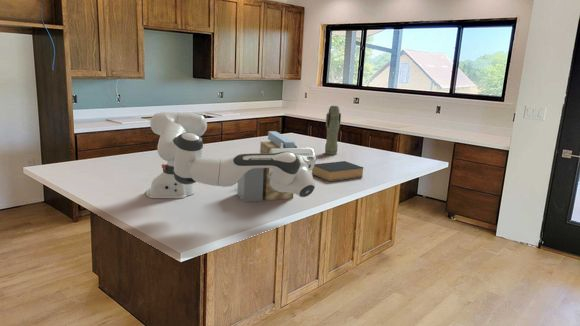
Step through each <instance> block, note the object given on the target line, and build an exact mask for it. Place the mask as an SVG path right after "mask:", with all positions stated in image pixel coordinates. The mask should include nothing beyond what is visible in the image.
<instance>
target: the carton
mask: <svg viewBox="0 0 580 326" xmlns="http://www.w3.org/2000/svg"><path fill="white" fill-rule="evenodd" d="M259 144H260V147H259V148H260V149H259V151H260V152H259V153H269V152H270V150H271V149H279V148H280V147H278V146H277V145H276V144H274V143H273V142H271V141H270V140H269V141H260V143H259ZM272 171H273V168H264V171H263V197H262V199H264V200H265V201H270V200H284V199H285V200H286V199H294V193H289V192H287V193H278V192H276V191H274V190H273V189H272V188H271V186H270V184H269V181H270V177H271V174H272Z"/></svg>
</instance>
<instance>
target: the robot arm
mask: <svg viewBox="0 0 580 326" xmlns="http://www.w3.org/2000/svg"><path fill="white" fill-rule="evenodd" d="M149 124H150V126H149V127H150V129H151V130H152V132H153V133H154V134H156V135H158V136H159V139H158V143H157V154H158V156H159V157H160V159H162V160H163V161H166V164H165V163H162V164H161V168H162V172H161V173H159V175H157V176H155V178H153V179H152V181H151V185H150V188H148V189H146V191H145V195H146V197H148V198H149V199H184V198H187V197H188V196H192V195H194V194H195V192H196V191H195V189H194V188H195V187H194V184H195V183H198V184H199V183H200V184H204V185H208V186H214V187H215V186H216V187H222V188H224V187H225V188H226V187H233V186H235V185H237V184H238V181H239V180H240V179H241V178H242V176H243V175H244V174H245V173H246V172H247V171H249V170H251V169H253V168H273V171H272V174H271V177H270V181H269V184H270V186H271V188H272V189H273V190H274V191H276V192H278V193H287V192H289V193H293V195H297V196H298V197H300V198H306V197H308V196H310V195H311V194H313V192H314V190H315V187H316V183H315V181H314V180H315V179H314V176H313V174H312V169H313V168H314V165H315V164H316V161H317V158H316V153H315V150H314V149H313V148H311V147H300V146H299V145H297V143H296V142H294V148H284V146H285V144H284V143H281V144H280V146H281V148H279V149H271V150H270V152H269V153H260V152H259V153H257V152H256V153H240V154H237V155H236V156H235V157H234V156H233V157H229V158H218V157H203V147H204V142H203V138H202V137H201V136H203V135H204V134H205V132H206V131H207V127H208V122H207V119H206V117H205V116H204V115H202V114H199V113H195V112H178V111H177V112H176V111H175V112H173V111H164V112H163V111H161V112H157V113H156V112H155V113H154V114H153V115H152V116H151V118H150V122H149Z"/></svg>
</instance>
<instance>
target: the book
mask: <svg viewBox="0 0 580 326" xmlns="http://www.w3.org/2000/svg"><path fill="white" fill-rule="evenodd" d="M363 171H364V167H363V166H360V165H359V164H358V165H357V164H355V163H351V162H348V161H345V160H343V161H333V162H332V161H331V162H324V163H315V165H314V168H313V169H312V170H311V174H312V176H316V177H318V178H320V179H322V180H325V181H328V182H334V181H341V180H342V181H344V180H348V179H357V178H363V173H364V172H363Z"/></svg>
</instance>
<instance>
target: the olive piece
mask: <svg viewBox="0 0 580 326" xmlns="http://www.w3.org/2000/svg"><path fill="white" fill-rule="evenodd" d="M341 118H342V114H341V112H340V108H339V106H338V105H331V106H329V108H328V112H327V113H326V117H325V127H326V143H325V147H324V154H325V155H328V156H329V155H330V156H336V155H337V154H338V147H339V146H338V138H339V137H338V136H339V131H340V130H339V129H340V126H341Z"/></svg>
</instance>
